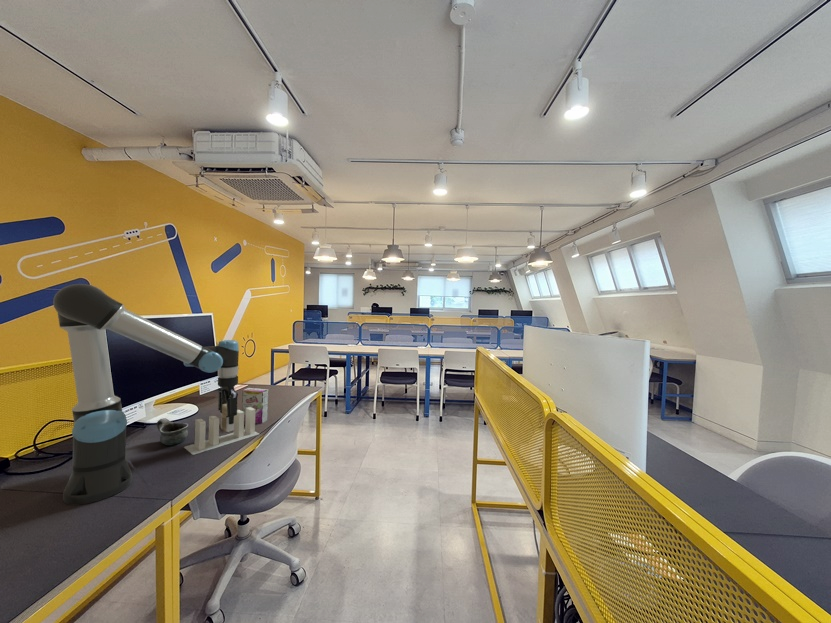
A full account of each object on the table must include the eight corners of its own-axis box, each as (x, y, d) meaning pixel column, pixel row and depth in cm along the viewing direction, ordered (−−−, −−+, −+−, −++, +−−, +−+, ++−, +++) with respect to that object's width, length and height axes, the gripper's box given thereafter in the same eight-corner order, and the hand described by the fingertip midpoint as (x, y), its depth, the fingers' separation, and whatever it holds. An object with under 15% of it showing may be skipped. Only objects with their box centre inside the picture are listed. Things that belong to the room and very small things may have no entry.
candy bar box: (240, 422, 153) (241, 390, 153) (247, 419, 158) (248, 387, 158) (262, 424, 152) (263, 391, 152) (267, 420, 157) (268, 388, 157)
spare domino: (226, 432, 131) (227, 406, 131) (221, 429, 134) (222, 404, 134) (231, 430, 133) (232, 405, 133) (226, 427, 136) (227, 403, 136)
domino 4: (250, 434, 140) (251, 410, 139) (245, 431, 142) (245, 407, 142) (254, 433, 141) (255, 409, 141) (249, 430, 144) (250, 406, 144)
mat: (192, 455, 119) (192, 454, 119) (183, 448, 125) (183, 447, 125) (259, 434, 140) (259, 433, 140) (249, 428, 146) (249, 428, 146)
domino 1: (199, 450, 123) (200, 423, 123) (194, 446, 126) (195, 419, 126) (205, 448, 125) (205, 421, 125) (200, 444, 128) (200, 418, 128)
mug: (176, 449, 124) (176, 424, 124) (145, 448, 124) (145, 423, 124) (193, 438, 134) (194, 416, 134) (164, 437, 134) (165, 414, 134)
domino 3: (238, 438, 135) (239, 413, 135) (233, 434, 138) (234, 410, 138) (243, 436, 137) (244, 412, 137) (238, 433, 140) (238, 409, 140)
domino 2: (213, 445, 127) (214, 419, 127) (208, 442, 130) (209, 416, 130) (218, 444, 129) (219, 418, 129) (213, 440, 132) (214, 415, 132)
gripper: (247, 378, 131) (246, 432, 131) (228, 371, 142) (227, 421, 142) (228, 381, 125) (226, 437, 125) (209, 374, 135) (208, 426, 136)
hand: (227, 429), depth 134 cm, fingers closed on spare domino, 5 cm apart
